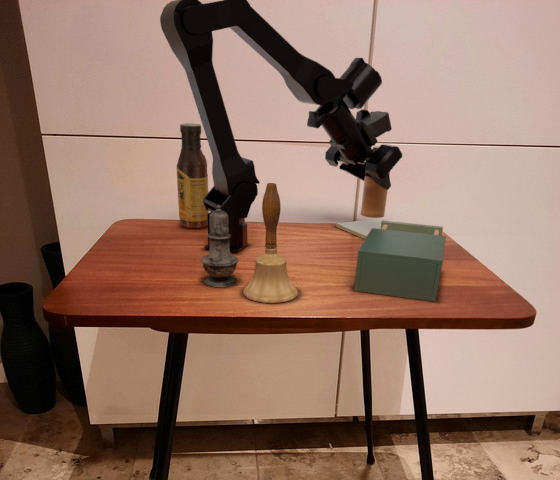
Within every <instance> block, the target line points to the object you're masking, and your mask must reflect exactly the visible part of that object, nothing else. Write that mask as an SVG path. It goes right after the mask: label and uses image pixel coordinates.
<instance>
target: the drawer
mask: <svg viewBox="0 0 560 480" xmlns="http://www.w3.org/2000/svg"><path fill="white" fill-rule="evenodd" d="M381 221H382V222H381V229H384V230H393V231H403V232H412V233H422V234H431V235H441V236H443V231H444V226H443V225H442V226H441V225H433V224H432V225H431V224H421V223H413V222H402V221H391V220H381Z"/></svg>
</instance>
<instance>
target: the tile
mask: <svg viewBox="0 0 560 480" xmlns="http://www.w3.org/2000/svg"><path fill="white" fill-rule="evenodd" d="M381 222H382V220H381V219H378V218H372V219H365V220H354V221H346V222H337V223H336V224H335V227H336V228H338V229H340V230H342V231H345V232H347V233H349V234H351V235H354V236H356V237H358V238H361V239H363V240H365V239H366V237H367V236H368V234H369V232H370V231H371V229H372V228H375V229H381Z"/></svg>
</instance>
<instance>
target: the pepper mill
mask: <svg viewBox="0 0 560 480" xmlns="http://www.w3.org/2000/svg"><path fill="white" fill-rule="evenodd" d="M379 147H380V146H372V149H375V150H377V149H378V148H379ZM366 173H367V171H366V170H365V174H366ZM390 175H391V171H390V172H389V177H390ZM388 190H389V189H388ZM388 190H387V189H385V188H383V187H382V186H380V185H378V184H377V183H375V182H374V181H372V180H370V179H369V178H367V177H366V176H365V179H364V181H363V189H362V199H361V207H360V215H361V216H362V217H366V218H371V219H379V218H380V219H381V218H384V217H385V213H386V206H387V205H386V204H387V198H388Z"/></svg>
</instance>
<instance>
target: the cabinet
mask: <svg viewBox="0 0 560 480" xmlns="http://www.w3.org/2000/svg"><path fill="white" fill-rule="evenodd" d="M446 238H447V236H446V235H442V236H441V235H431V234H422V233H412V232H403V231H393V230H384V229H375V228H372V229H371V231H370V232H369V234H368V236H367V237H366V239H364V240H363V242H362V243H361V245H360V247H359V249H358V251H357V260H356V268H355V276H354V287H353V291H354V292H361V293H366V294H367V293H368V294H374V295H382V296H390V297H397V298H404V299H412V300H420V301H426V302H427V301H428V302H433V303H434V302H435V303H436V301H437V296H438V290H439V284H440V279H441V273H442V269H443V264H444V256H445V247H446Z"/></svg>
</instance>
